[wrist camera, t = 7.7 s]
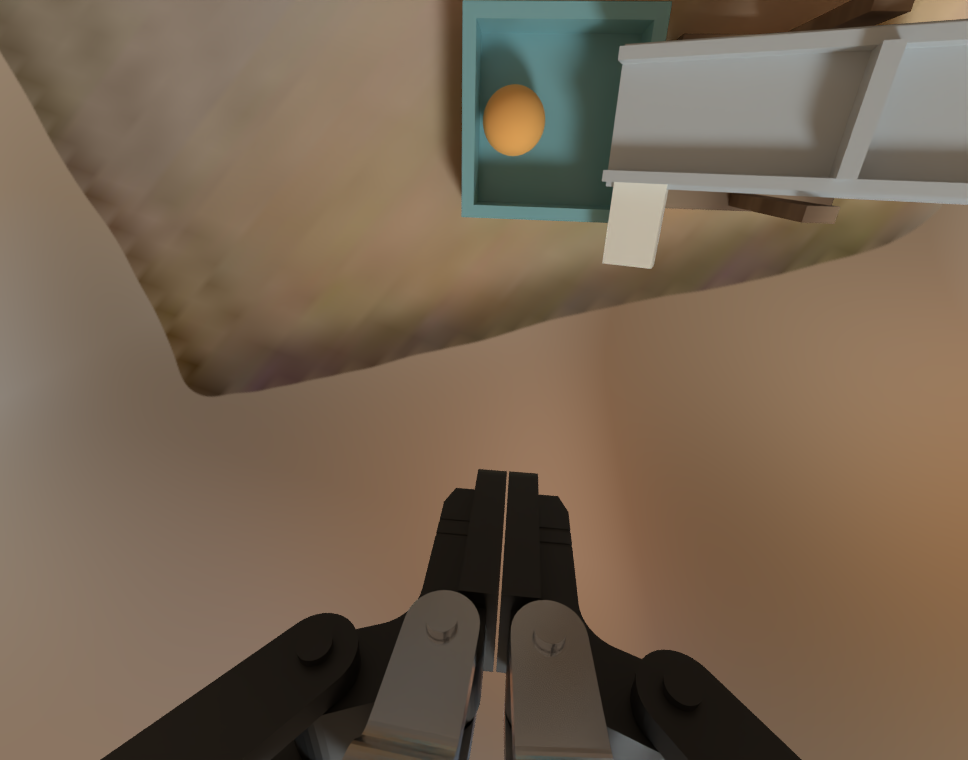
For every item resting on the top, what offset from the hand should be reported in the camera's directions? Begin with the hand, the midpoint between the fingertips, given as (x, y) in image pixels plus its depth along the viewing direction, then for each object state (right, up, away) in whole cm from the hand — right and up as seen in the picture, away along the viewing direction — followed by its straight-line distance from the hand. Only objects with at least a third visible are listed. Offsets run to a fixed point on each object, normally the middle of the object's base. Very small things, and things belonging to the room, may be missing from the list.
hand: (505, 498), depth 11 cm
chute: (+18, +17, +18) cm, 31 cm away
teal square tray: (+4, +21, +20) cm, 29 cm away
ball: (+1, +20, +17) cm, 26 cm away
